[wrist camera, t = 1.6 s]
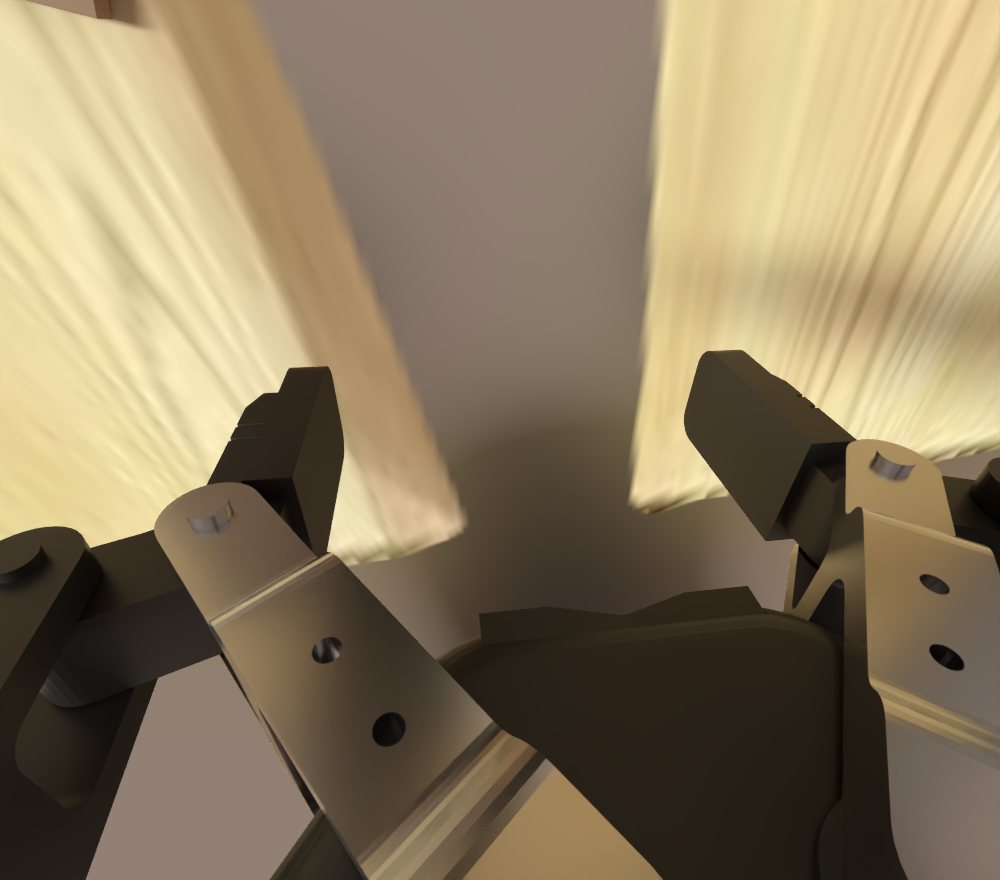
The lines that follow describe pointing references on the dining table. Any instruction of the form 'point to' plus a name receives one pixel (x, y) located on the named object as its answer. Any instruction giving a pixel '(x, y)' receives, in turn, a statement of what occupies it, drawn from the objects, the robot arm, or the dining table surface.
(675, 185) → the dining table surface
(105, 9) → the rail
